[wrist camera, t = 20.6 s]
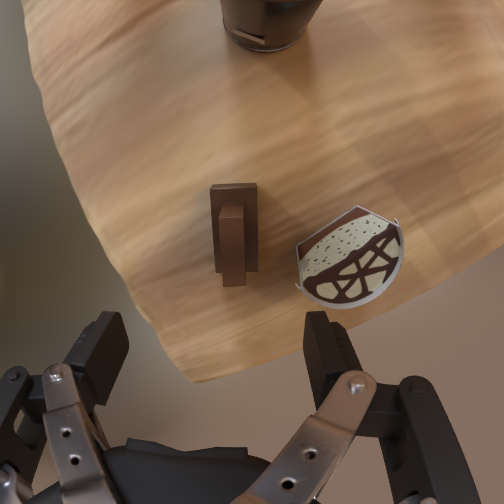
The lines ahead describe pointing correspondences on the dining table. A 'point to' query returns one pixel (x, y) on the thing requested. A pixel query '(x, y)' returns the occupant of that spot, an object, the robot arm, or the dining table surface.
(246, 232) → the brown stepped block
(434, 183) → the dining table surface
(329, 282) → the food container
